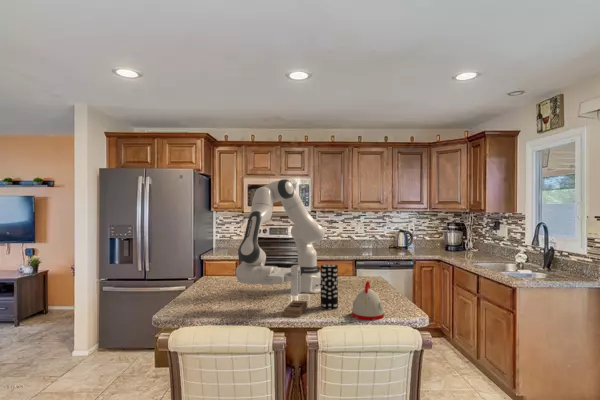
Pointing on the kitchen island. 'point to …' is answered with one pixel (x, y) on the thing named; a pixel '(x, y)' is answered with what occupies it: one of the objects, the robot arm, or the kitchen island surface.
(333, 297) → the spotted tube
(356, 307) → the kitchen timer
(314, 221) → the robot arm
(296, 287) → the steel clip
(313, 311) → the kitchen island surface
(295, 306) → the brown slotted block
